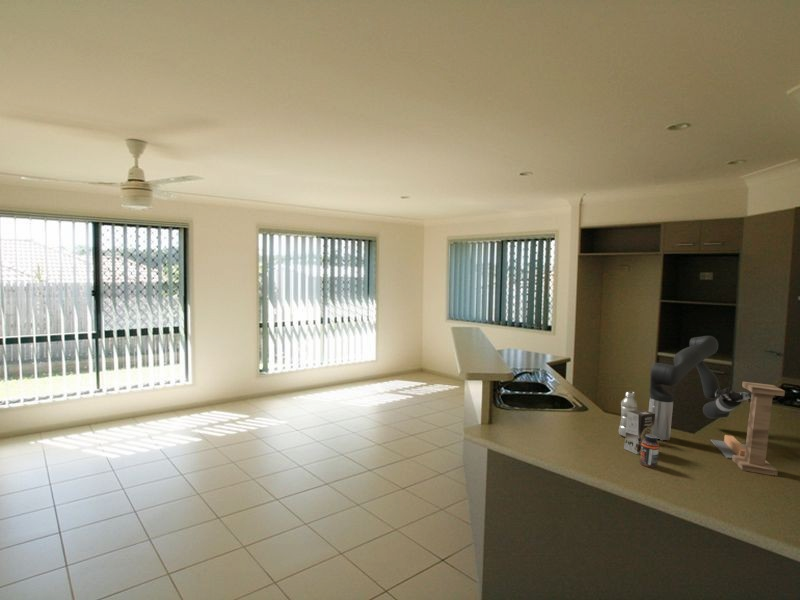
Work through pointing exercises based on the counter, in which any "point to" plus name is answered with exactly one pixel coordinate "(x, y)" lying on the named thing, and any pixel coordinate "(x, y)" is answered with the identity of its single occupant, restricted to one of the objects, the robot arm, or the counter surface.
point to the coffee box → (638, 429)
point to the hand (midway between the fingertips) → (741, 390)
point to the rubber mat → (725, 448)
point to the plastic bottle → (626, 410)
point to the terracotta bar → (735, 445)
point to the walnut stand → (758, 429)
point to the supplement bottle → (649, 451)
